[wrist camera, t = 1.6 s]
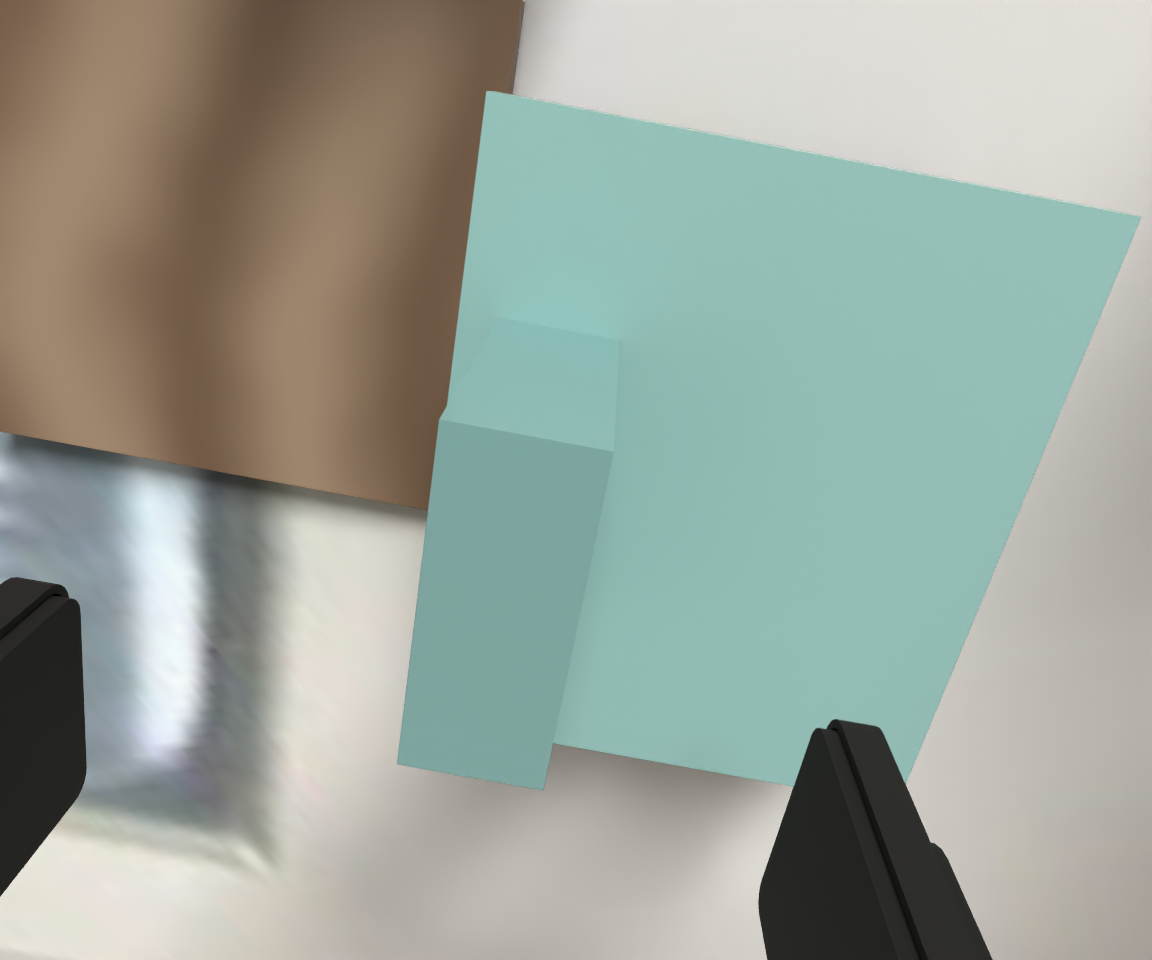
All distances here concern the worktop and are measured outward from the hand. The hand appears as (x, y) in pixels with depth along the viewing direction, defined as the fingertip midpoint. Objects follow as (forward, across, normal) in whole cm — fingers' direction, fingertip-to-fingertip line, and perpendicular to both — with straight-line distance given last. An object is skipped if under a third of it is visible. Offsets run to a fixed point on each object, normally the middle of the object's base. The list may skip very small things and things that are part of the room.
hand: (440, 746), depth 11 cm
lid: (+10, -5, -1) cm, 11 cm away
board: (+16, +9, -3) cm, 19 cm away
